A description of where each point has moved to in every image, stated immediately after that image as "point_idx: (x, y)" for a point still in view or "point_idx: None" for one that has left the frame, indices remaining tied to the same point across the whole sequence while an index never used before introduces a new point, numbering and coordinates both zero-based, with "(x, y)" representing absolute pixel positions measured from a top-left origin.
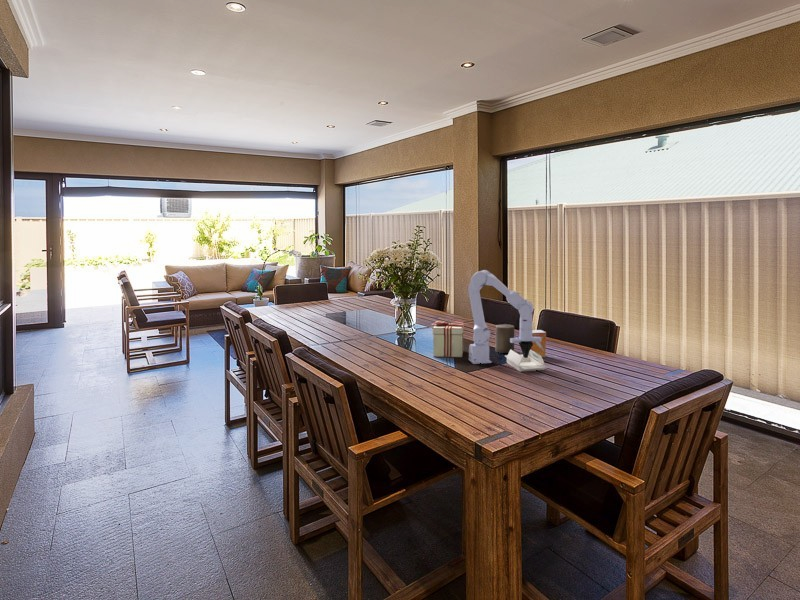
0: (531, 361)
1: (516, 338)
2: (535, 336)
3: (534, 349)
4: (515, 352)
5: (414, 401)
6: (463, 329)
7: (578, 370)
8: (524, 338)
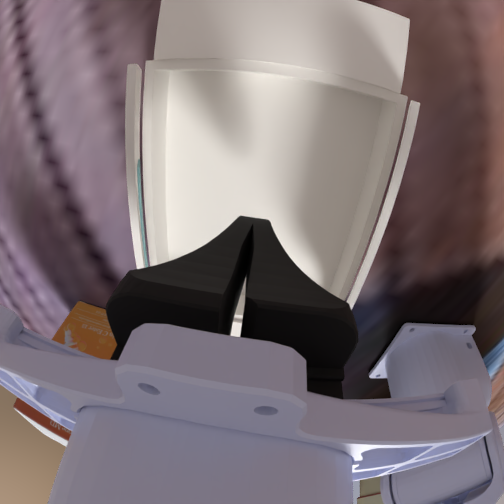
0: None
1: (408, 461)
2: None
3: (108, 353)
4: (353, 304)
5: None
6: (368, 496)
7: (9, 55)
8: (325, 466)
